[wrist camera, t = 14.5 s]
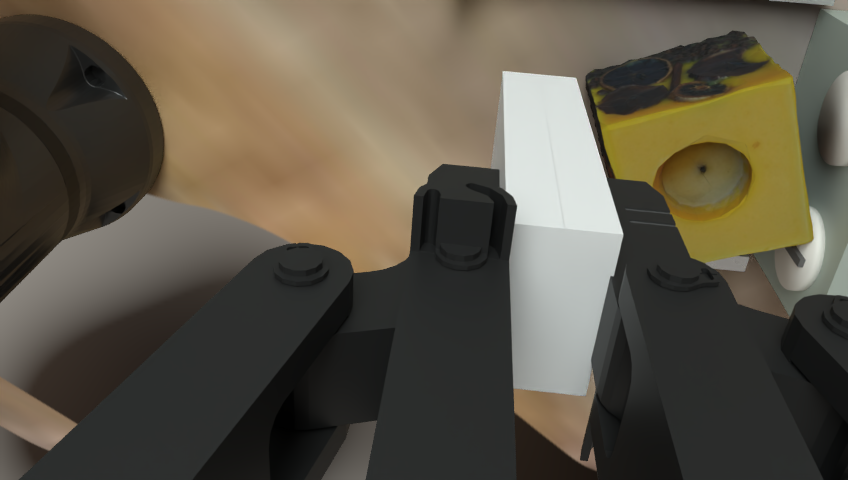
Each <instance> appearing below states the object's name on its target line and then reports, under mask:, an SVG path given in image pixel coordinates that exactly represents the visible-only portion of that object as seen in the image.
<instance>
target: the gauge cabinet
mask: <svg viewBox="0 0 848 480" xmlns="http://www.w3.org/2000/svg"><path fill="white" fill-rule="evenodd" d="M795 93H796V109H797V120H798V127H799V136H800V144H801V153H802V161H803V169H804V176H805V183H806V189H807V194H808V201H809V209H810V215H811V220H812V225H813V237H814V239H813V240H812V241H811V242H809V243H807V244H802V245H796V246H790V247H785V248H780V249H774V250H769V251H763V252H757V253H753V254H754V256H755V258H756V259H757V261H758V263H759V265H760V266H761V268H762V270H763V272H764V273H765V275H766V277H767V278H768V280H769V282H770V284H771V285H772V287H773V289H774V291H775V292H776V294H777V296H778V297H779V299H780V301H781V303H782V304H783V306H784V308H785V310H786V311H787V313H788V315H789V316H791V313H792V311H793V308H794V306H795V304H796V303H797V302H798V301H799V300H801V299H802V298H803V297H806V296H811V295H817V294H824V295H841V296H846V297H848V11H842V10H830V9H820V12H819V15H818V18H817V21H816V24H815V27H814V31H813V34H812V37H811V40H810V43H809V46H808V49H807V52H806V55H805V58H804V61H803V64H802V67H801V71H800V74H799V77H798V80H797V83H796V86H795Z"/></svg>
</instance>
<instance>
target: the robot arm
mask: <svg viewBox="0 0 848 480" xmlns="http://www.w3.org/2000/svg"><path fill="white" fill-rule="evenodd" d="M162 158H163V131H162V125H161V121H160V117H159V114H158V111H157V108H156V106H155V103H154V101H153V99H152V97H151V94H150V93H149V91H148V89H147V87H146V86H145V84H144V82H143V81H142V79H141V78H140V77H139V75H138V74H137V72H136V71H135V70H134V69H133V68H132V66H131V65H130V64H129V63H128V62H127V61H126V60H125V59H124V58H123V57H122V56H121V55H120V54H119V53H118V52H117V51H116V50H115V49H113V48H112V47H111V46H110V45H109V44H107V43H106V42H105V41H103V40H102V39H100V38H99V37H97V36H96V35H94V34H92V33H91V32H89V31H87V30H85V29H83V28H81V27H79V26H77V25H74V24H72V23H69V22H66V21H64V20H60V19H57V18H53V17H48V16H41V15H15V16H9V17H5V18H1V19H0V302H1V301H2V300H3V299H4V298H5V297H6V296H7V295H8V294H9V293H10V292H11V291H12V290H13V289H14V288H15V287H16V286H17V285H18V284H19V283H20V282H21V281H22V280H23V279H24V278H25V277H26V276H27V275H28V274H29V273H30V272H31V271H32V270H33V269H34V268H35V267H36V266H37V265H38V264H39V263H40V262H41V261H42V260H43V259H44V258H45V257H46V256H47V255H48V254H49V253H50V252H51V251H52V250H53V249H54V247H56V245H57V244H59V243H60V242H61V241H62V240H64V239H67V238H70V237H73V236H76V235H79V234H82V233H85V232H88V231H91V230H94V229H97V228H100V227H103V226H105V225H108V224H110V223H112V222H114V221H116V220H118V219H119V218H121V217H122V216H124V215H125V214H126V213H128V212H129V211H130V210H131V209H132V208H133V207H134V206H135V205H136V204H137V203H138V202H139V201H140V200H141V199H142V198H143V197H144V196H145V195H146V193H147V192H148V191H149V190H150V188H151V187H152V185H153V184H154V182H155V180H156V178H157V176H158V173H159V170H160V167H161V163H162ZM592 368H593V374H594V380H595V386H596V391H595V395H594V400H593V404H592V408H591V412H590V416H589V420H588V424H587V428H586V433H585V437H584V441H583V445H582V450H581V456H580V460H583V461H588V458H589V454H590V450H591V448H593V447H594V454H595V460H596V467H597V473H598V480H848V297H846V296H841V295H824V294H817V295H811V296H806V297H803V298H802V299H801V300H799V301H798V302H797V303H796V304H795V306H794V308H793V311H792V313H791V316H790V318H789V319H786V318H782V317H779V316H775V315H772V314H768V313H765V312H761V311H758V310H754V309H751V308H748V307H745V306H742V305H739V304H737V302H736V300H735V298H734V296H733V294H732V292H731V290H730V288H729V286H728V284H727V282H726V281H725V280H724V278H723V277H722V276H721V275H720V274H719V272H717V271H716V270H714V269H713V268H711V267H710V266H708V265H707V264H705V263H703V262H701V261H698V260H696V259H693V258H691V257H690V255H689V253H688V250H687V248H686V246H685V244H684V241H683V239H682V237H681V235H680V232H679V230H678V228H677V227H676V223H675V221H674V219H673V216H672V214H670V210H669V207H668V205H667V203H666V200H665V198H664V196H663V195H662V194H660V193H659V192H658V191H657V190H655V189H654V188H653V187H652V186H650V185H649V184H648V183H647V182H644V181H634V180H623V179H613V178H606V175H605V172H604V169H603V165H602V162H601V159H600V155H599V152H598V149H597V146H596V142H595V139H594V136H593V132H592V129H591V126H590V122H589V119H588V116H587V113H586V109H585V106H584V103H583V99H582V96H581V93H580V89H579V86H578V83H577V80H576V78H571V77H561V76H550V75H539V74H528V73H518V72H507V71H503V75H502V83H501V91H500V99H499V107H498V115H497V123H496V131H495V139H494V147H493V155H492V163H491V169H489V168H479V167H469V166H459V165H448V164H442V165H441V166H440V167H439V168H437V169H436V170H435V171H433V172H432V173H431V174H430V175H429V177H428V182H427V184H425V185H423V186H421V187H420V188H419V189H418V190H417V192H416V193H415V195H414V203H413V218H412V232H411V246H410V254H409V257H408V258H407V259H406V260H405V261H403V262H401V263H399V264H398V265H396V266H393V267H390V268H387V269H384V270H378V271H371V272H362V273H354V271H353V268H352V265H351V262H350V260H349V259H348V258H346V257H345V256H344V255H343V254H342V253H340V252H339V251H336V250H334V249H331V248H328V247H325V246H322V245H314V244H309V243H298V244H296V243H293V244H286V245H283V246H279V247H276V248H273V249H269V250H267V251H265V252H264V253H262V254H260V255H259V256H257V257H256V258H254V259H253V260H252V261H251V262H250V263H249V264H248V265H247V266H246V267H244V268H243V269H242V270H241V271H240V272H239V273H238V274H237V275H236V276H235V277H234V278H233V279H232V280H231V281H230V282H229V283H228V284H226V285H225V286H224V287H223V288H222V289H221V290H220V291H219V292H218V293H217V294H216V295H215V296H214V297H213V298H212V299H210V300H209V301H208V302H207V303H206V304H205V305H204V306H203V307H202V308H201V309H200V310H199V311H198V312H197V313H196V314H195V315H193V317H191V318H190V319H189V320H188V321H187V322H186V323H185V324H184V325H183V326H182V327H181V328H180V329H179V330H178V331H176V332H175V333H174V334H173V335H172V336H171V337H170V338H169V339H168V340H167V341H166V342H165V343H164V344H163V345H162V346H161V347H160V348H158V349H157V350H156V351H155V352H154V353H153V354H152V355H151V356H150V357H149V358H148V359H147V360H146V361H145V362H144V363H142V364H141V366H139V367H138V368H137V369H136V370H135V371H134V372H133V373H132V374H131V375H130V376H129V377H128V378H127V379H126V380H124V381H123V382H122V383H121V385H119V386H118V387H117V388H116V389H115V390H114V391H113V392H112V393H111V394H110V395H108V396H107V397H106V398H105V399H104V400H103V401H102V402H101V403H100V404H99V405H98V406H97V407H96V408H95V409H94V410H93V411H91V412H90V414H88V415H87V416H86V417H85V418H84V419H83V420H82V421H81V422H80V423H79V424H78V425H77V426H76V427H74V428H73V429H72V430H71V431H70V432H69V433H68V434H67V435H66V436H65V437H64V438H63V439H62V440H61V441H60V442H59V443H57V444H56V445H55V446H54V447H53V448H52V449H51V450H50V451H49V452H48V453H47V454H46V455H45V456H44V457H43V458H42V459H40V460H39V461H38V462H37V463H36V464H35V465H34V466H33V467H32V468H31V469H30V470H29V471H28V472H27V473H26V474H25V475H23V477H21V478H20V479H19V480H321V479H322V477H323V476H324V474H325V472H326V471H327V469H328V467H329V466H330V464H331V462H332V460H333V459H334V457H335V455H336V454H337V452H338V450H339V448H340V447H341V445H342V444H343V442H344V440H345V439H346V436H347V433H348V429H349V426H350V424H353V423H361V422H368V421H375V420H377V424H376V429H375V435H374V440H373V445H372V450H371V455H370V460H369V466H368V471H367V476H366V480H516V455H515V454H516V453H515V426H514V425H515V423H514V392H513V388H515V389H524V390H534V391H543V392H552V393H561V394H570V395H579V396H586V392H587V388H588V384H589V380H590V375H591V371H592Z"/></svg>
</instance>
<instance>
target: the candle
mask: <svg viewBox="0 0 848 480" xmlns="http://www.w3.org/2000/svg"><path fill="white" fill-rule="evenodd" d="M586 89H587V91H588V96H589V98H590V102H591V109H592V112H593V117H594V119H595V126H596V128H597V132H598V136H599V138H598V139H599V142H600V145H601V152H602V156H603V157H604V159H605V164H606V169H607V172H608V175H609V178H613V179H623V180H634V181H644V182H647V183H648V184H649V185H650V186H652V187H653V188H654V189H655V190H657V191H658V192H659V193H660V194H662V195H663V196H664V198H665V200H666V203H667V205H668V207H669V210H670V214H672V216H673V219H674V221H675V223H676V227H677V228H678V230H679V232H680V235H681V237H682V239H683V241H684V244H685V246H686V248H687V250H688V253H689V255H690V257H691V258H693V259H696V260H698V261H701V262H703V263H706V262H711V261H715V260H720V259H725V258H730V257H735V256H739V255H745V254H751V253H757V252H763V251H769V250H774V249H780V248H785V247H790V246H796V245H802V244H807V243H809V242H811V241H812V240H813V239H814V237H813V225H812V220H811V215H810V209H809V201H808V194H807V189H806V183H805V176H804V169H803V161H802V153H801V144H800V136H799V127H798V120H797V109H796V93H795V88H794V83H793V77H792V76H791V75H790V74H789V73H788V72H787V71H785V70H783V69H781V67H780V66H779V64H775V63H774V61H773V59H772V58H771V57H770V56H768V55H767V54H766V53H765V51H764V50H763V49H762V47H761V45H760V44H759V43H757V40H756V39H755V38H754V37H748V36H747V35H746V34H745V32H739V31H732V32H730V33H729V34H727V35H724V36H719V37H716V38H708V39H706V40H704V41H702V42H700V43H694V44H690V45H687V46H685V47H684V46H682V45H680V46H678V47H675V48H672V49H669V50H666V51H663V52H661V53H658V54H654V55H651V56H648V57H644V58H640V59H638V60H629V61H627V62H625V63H623V64H622V65H616V66H611V67H607V68H605V69H594V70H593V71H591V72H590V73H588V74H587V75H586Z"/></svg>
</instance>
